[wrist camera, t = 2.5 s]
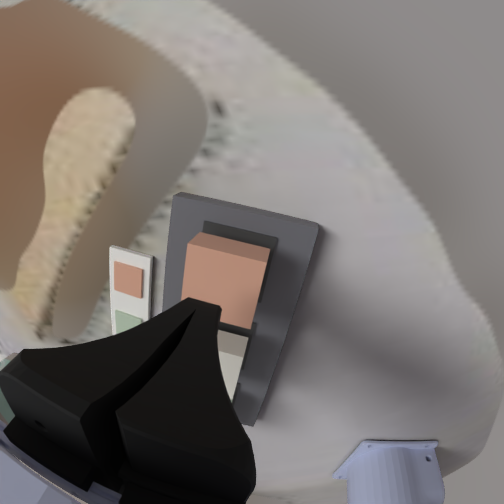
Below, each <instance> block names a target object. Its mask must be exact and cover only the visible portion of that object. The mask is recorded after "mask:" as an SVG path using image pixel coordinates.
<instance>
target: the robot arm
mask: <svg viewBox="0 0 504 504" xmlns="http://www.w3.org/2000/svg"><path fill="white" fill-rule="evenodd" d="M221 312H222V308H221V307H220V306H219V305H216V304H212V303H208V302H205V301H201V300H197V299H194V298H190V297H187V298H186V299H184V300H182V301H180V302H179V303H177V304H176V305H174V306H172V307H171V308H169V309H167V310H166V311H164V312H162V313H160V314H158V315H157V316H155V317H153V318H151V319H149V320H147V321H145V322H143V323H141V324H139V325H137V326H135V327H133V328H131V329H128V330H126V331H123V332H121V333H118V334H115V335H112V336H109V337H106V338H103V339H99V340H95V341H91V342H87V343H83V344H78V345H72V346H65V347H58V348H44V349H23V350H22V351H21V352H20V353H19V354H18V355H17V356H16V357H14V358H13V359H12V360H11V361H10V362H9V363H8V364H7V365H6V366H5V367H4V368H3V369H2V370H1V371H0V388H1V391H2V393H3V395H4V397H5V399H6V401H7V402H8V404H9V406H10V408H11V410H12V411H13V413H14V415H15V417H14V418H13V419H12V420H11V422H10V423H9V424H8V425H6V424H5V423H4V422H3V421H1V420H0V504H81V503H80V502H78V501H77V500H75V499H74V498H72V497H71V496H69V495H68V494H66V493H64V492H63V491H61V490H60V489H58V488H57V487H55V486H54V485H52V484H51V483H49V482H48V481H46V480H45V479H43V478H42V477H40V476H39V475H38V474H36V473H35V472H33V471H32V470H31V469H29V468H28V467H26V466H25V465H24V464H22V463H21V462H20V461H19V460H18V459H20V460H21V461H22V462H24V463H25V464H26V465H28V466H29V467H30V468H32V469H33V470H34V471H36V472H38V473H39V474H40V475H42V476H43V477H45V478H46V479H48V480H49V481H51V482H52V483H54V484H56V485H57V486H59V487H60V488H62V489H63V490H65V491H67V492H68V493H70V494H72V495H74V496H75V497H77V498H79V499H81V500H83V501H85V502H86V503H88V504H246V501H247V499H248V498H249V496H250V495H251V493H252V492H253V490H254V488H255V485H256V467H255V460H254V454H253V449H252V444H251V441H250V439H249V437H248V435H247V434H246V432H245V430H244V428H243V426H242V425H241V423H240V421H239V419H238V416H237V414H236V412H235V410H234V408H233V405H232V402H231V400H230V397H229V394H228V392H227V389H226V386H225V382H224V379H223V375H222V370H221V365H220V360H219V352H218V340H217V335H218V329H219V324H220V318H221ZM437 445H438V441H370V440H366V441H363V442H361V443H360V445H359V446H358V447H357V448H356V449H355V450H354V452H353V453H352V454H351V455H350V456H349V457H348V458H347V459H346V461H345V462H344V463H343V464H342V465H341V466H340V467H339V468H338V469H337V470H336V471H335V472H334V473H333V475H332V478H334V479H347V499H348V504H443V502H444V496H445V489H444V484H443V480H442V476H441V472H440V468H439V464H438V460H437V457H436V453H435V450H434V448H435V447H436V446H437ZM15 456H16V457H17V458H18V459H17V458H16V457H15Z"/></svg>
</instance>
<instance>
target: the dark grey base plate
mask: <svg viewBox="0 0 504 504" xmlns="http://www.w3.org/2000/svg"><path fill="white" fill-rule="evenodd" d="M318 230H319V228H318V224H317V223H315V222H311V221H307V220H303V219H299V218H295V217H291V216H287V215H283V214H279V213H275V212H270V211H266V210H262V209H257V208H253V207H249V206H244V205H240V204H235V203H231V202H226V201H222V200H217V199H213V198H208V197H203V196H198V195H194V194H189V193H184V192H180V193H178V194H175V195H173V201H172V209H171V217H170V226H169V235H168V245H167V255H166V267H165V279H164V293H163V310H162V312H164V311H166V310H167V309H169V308H171V307H172V306H174V305H176V304H177V303H179V302H180V301H181V296H182V287H183V277H184V269H185V260H186V252H187V244H188V242H189V241H191V240H192V239H193V238H194V237H195V236H196V235H197V234H198V233H199V232H202V233H206V234H211V235H215V236H219V237H223V238H227V239H231V240H236V241H240V242H244V243H248V244H252V245H256V246H261V247H265V248H269V249H270V253H269V257H268V261H267V265H266V269H265V273H264V278H263V282H262V286H261V290H260V294H259V298H258V302H257V306H256V310H255V314H254V318H253V321H252V325H251V329H247V328H243V327H239V326H235V325H232V324H228V323H224V322H220V324H219V329H218V330H221V331H225V332H228V333H232V334H236V335H240V336H244V337H248V342H247V346H246V350H245V354H244V358H243V362H242V366H241V369H240V373H239V377H238V381H237V385H236V388H235V392H234V396H233V400H232V405H233V408H234V410H235V412H236V414H237V416H238V419H239V421H240V423H241V424H244V425H248V426H254V424H255V421H256V419H257V416H258V413H259V411H260V408H261V405H262V403H263V400H264V397H265V395H266V392H267V389H268V387H269V384H270V381H271V378H272V375H273V373H274V370H275V367H276V364H277V361H278V358H279V356H280V353H281V350H282V347H283V344H284V341H285V338H286V335H287V332H288V329H289V326H290V323H291V320H292V317H293V314H294V310H295V307H296V304H297V301H298V298H299V295H300V291H301V288H302V285H303V282H304V278H305V275H306V272H307V268H308V265H309V262H310V258H311V255H312V251H313V248H314V244H315V241H316V237H317V234H318Z"/></svg>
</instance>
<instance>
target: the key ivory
mask: <svg viewBox="0 0 504 504" xmlns="http://www.w3.org/2000/svg"><path fill="white" fill-rule="evenodd" d="M217 340H218V352H219V360H220V365H221V370H222V375H223V379H224V382H225V386H226V389H227V392H228V394H229V397H230V399H233V396H234V392H235V388H236V385H237V381H238V377H239V373H240V369H241V366H242V362H243V358H244V354H245V350H246V346H247V342H248V337H244V336H240V335H236V334H232V333H228V332H225V331H221V330H218V335H217Z"/></svg>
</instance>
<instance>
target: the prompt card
mask: <svg viewBox="0 0 504 504" xmlns="http://www.w3.org/2000/svg"><path fill="white" fill-rule="evenodd" d="M152 266H153V256H151V255H147V254H143V253H140V252H136V251H132V250H129V249H125V248H121V247H118V246H114V245H112V246H110V301H111V319H112V332H113V335H115V334H118V333H121V332H123V331H126V330H128V329H131V328H133V327H135V326H137V325H139V324H141V323H143V322H145V321H147V320H149V319H150V310H151V284H152Z"/></svg>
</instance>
